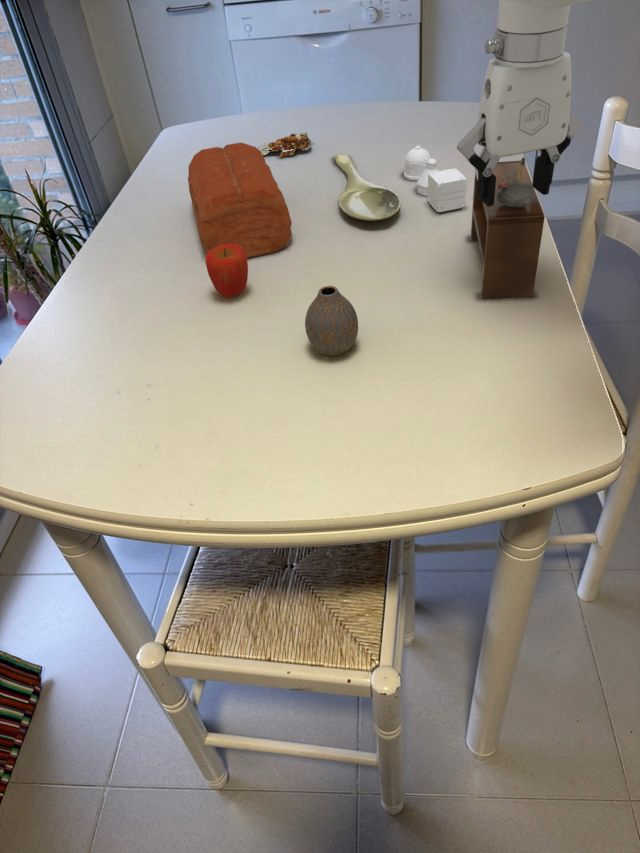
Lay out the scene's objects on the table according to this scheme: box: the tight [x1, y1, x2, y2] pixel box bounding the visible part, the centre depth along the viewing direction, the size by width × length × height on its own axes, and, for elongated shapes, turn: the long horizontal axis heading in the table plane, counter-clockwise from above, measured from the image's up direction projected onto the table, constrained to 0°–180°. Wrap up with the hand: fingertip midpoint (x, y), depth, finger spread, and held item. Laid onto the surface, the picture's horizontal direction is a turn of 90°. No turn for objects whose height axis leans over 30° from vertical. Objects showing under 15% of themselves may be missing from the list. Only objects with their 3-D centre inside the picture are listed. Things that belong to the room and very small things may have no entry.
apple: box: [205, 244, 249, 299], centre depth 97 cm, size 6×6×8 cm
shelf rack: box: [470, 160, 546, 299], centre depth 94 cm, size 7×18×12 cm, turn 176°
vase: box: [304, 285, 359, 357], centre depth 84 cm, size 7×7×9 cm
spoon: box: [333, 153, 402, 222], centre depth 121 cm, size 35×11×2 cm, turn 10°
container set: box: [403, 145, 467, 213], centre depth 117 cm, size 20×5×6 cm, turn 13°
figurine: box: [497, 157, 533, 207], centre depth 84 cm, size 5×4×6 cm
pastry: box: [257, 132, 313, 159], centre depth 138 cm, size 7×12×4 cm, turn 96°
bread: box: [187, 141, 293, 259], centre depth 113 cm, size 16×27×11 cm, turn 14°
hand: (513, 195), depth 85 cm, fingers open, 7 cm apart
